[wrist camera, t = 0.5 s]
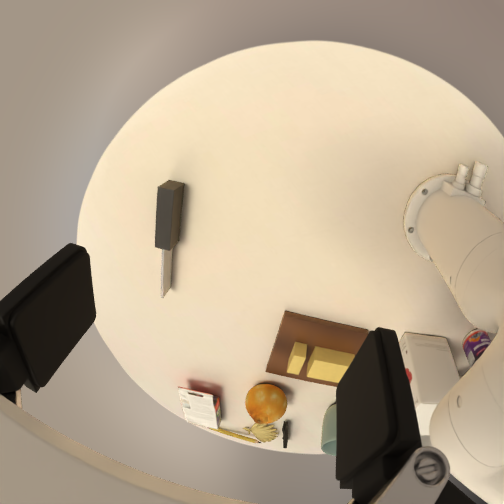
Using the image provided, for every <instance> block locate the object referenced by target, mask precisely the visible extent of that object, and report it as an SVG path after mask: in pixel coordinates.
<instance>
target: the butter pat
mask: <svg viewBox="0 0 504 504" xmlns="http://www.w3.org/2000/svg"><path fill="white" fill-rule="evenodd" d="M306 352H307V344H303V343H299V342H295V344H294V347H293V349H292V352H291V355H290V357H289V361H288V368H287V373H292V374H296V375H299V372H300V370H301V368H302V366H303V364H304V361H305V359H306Z"/></svg>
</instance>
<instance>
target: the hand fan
mask: <svg viewBox="0 0 504 504" xmlns="http://www.w3.org/2000/svg"><path fill="white" fill-rule="evenodd" d="M266 425H267V424H261V425H259V424H258V423H255V424H254V426H253V427H252V428H251V429H247V428H246V427H245V428H243V429H245V430H246V431H248V432H249V434H250V431H251V432H252V433H253V434H254V435H255V436H256V438H257V439H258V440H260V441H261V442H266V441H268V442H269V441H271V440H274V439H275V438H276V437H278V436H276V434H278V433H277V432H273V431H276V430H277V429H270V428H272V427H273V426H274V425H271V426H266ZM264 426H265V427H264ZM248 428H249V427H248ZM272 437H273V438H272Z"/></svg>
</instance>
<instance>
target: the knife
mask: <svg viewBox="0 0 504 504" xmlns="http://www.w3.org/2000/svg"><path fill="white" fill-rule="evenodd" d="M183 192H184V183H180V182H175V181H170V180H169V181H167V182H165V183H164V184H162V185H160V186H159V187H158V193H157V210H156V231H155V247H157V248H160V249H162V265H161V298H163V297H164V296H165V295H166V293H167V292H168V290H169V289H170V288H171V270H172V250H173V247H174V246H175V245H176V244H177V243H178V241H179V237H180V225H181V213H182V202H183Z"/></svg>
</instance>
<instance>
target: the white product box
mask: <svg viewBox="0 0 504 504" xmlns="http://www.w3.org/2000/svg"><path fill="white" fill-rule="evenodd" d="M399 346H400V349H401V353H402V357H403V361H404V365H405V369H406V374H407V376H408V378H409V382H410V386H411V391H412V395H413V400H414V405H415V409H416V415H417V420H418V425H419V431H420V435H429V425H430V419H431V416H432V414H433V412H434V410H435V408H436V406H437V405H438V403H439V402H440V401H441V400H442V398H443V397H444V396H445V395H446V394H447V393H448V392H449V391H450V390H451V389H452V388H453V387H454V385H455V384H456V383H457V382H458V381H459V380H460V377H459V374H458V371H457V368H456V365H455V362H454V359H453V356H452V353H451V350H450V348H449V345H448V342H447V340H446V338H443V337H435V336H428V335H421V334H413V333H407V332H405V333H404V335H403V337H402V339H401V341H400V342H399Z"/></svg>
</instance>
